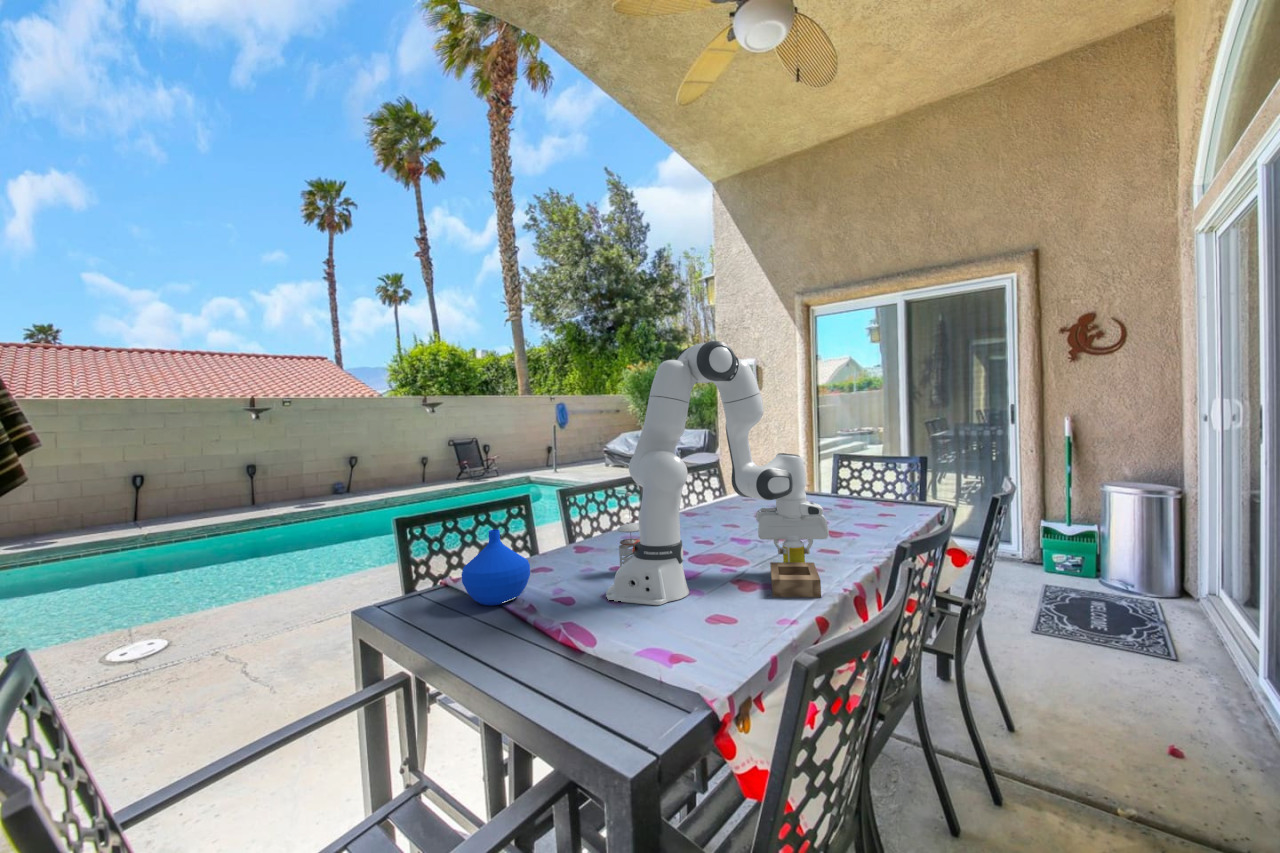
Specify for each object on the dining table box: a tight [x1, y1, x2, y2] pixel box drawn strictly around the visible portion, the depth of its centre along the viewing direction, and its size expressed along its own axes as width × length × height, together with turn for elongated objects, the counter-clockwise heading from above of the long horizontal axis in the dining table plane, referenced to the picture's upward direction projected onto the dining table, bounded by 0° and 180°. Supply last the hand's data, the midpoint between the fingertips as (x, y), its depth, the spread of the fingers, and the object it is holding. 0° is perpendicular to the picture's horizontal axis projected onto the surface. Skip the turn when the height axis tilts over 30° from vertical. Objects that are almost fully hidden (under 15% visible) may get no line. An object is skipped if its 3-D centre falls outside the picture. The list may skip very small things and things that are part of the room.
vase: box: [461, 529, 531, 606], centre depth 151 cm, size 18×18×19 cm
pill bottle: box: [782, 536, 806, 563], centre depth 162 cm, size 6×6×11 cm
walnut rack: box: [769, 561, 822, 598], centre depth 148 cm, size 12×16×4 cm
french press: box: [616, 491, 640, 568], centre depth 170 cm, size 10×12×25 cm
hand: (793, 553), depth 162 cm, fingers closed on pill bottle, 6 cm apart
